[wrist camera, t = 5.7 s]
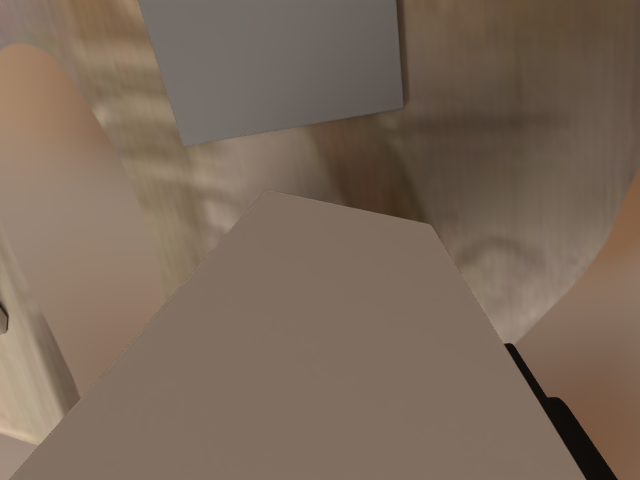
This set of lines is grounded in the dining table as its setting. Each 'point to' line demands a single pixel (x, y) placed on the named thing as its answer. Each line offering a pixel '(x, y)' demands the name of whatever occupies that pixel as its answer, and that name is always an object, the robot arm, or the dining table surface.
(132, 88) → the dining table surface
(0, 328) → the flask
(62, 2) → the dining table surface
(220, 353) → the milk carton
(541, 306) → the dining table surface
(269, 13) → the mat
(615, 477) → the robot arm
